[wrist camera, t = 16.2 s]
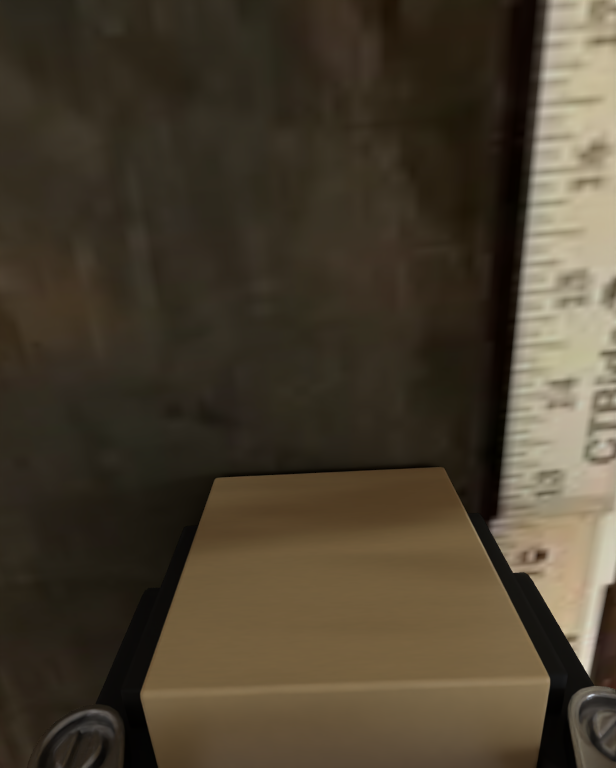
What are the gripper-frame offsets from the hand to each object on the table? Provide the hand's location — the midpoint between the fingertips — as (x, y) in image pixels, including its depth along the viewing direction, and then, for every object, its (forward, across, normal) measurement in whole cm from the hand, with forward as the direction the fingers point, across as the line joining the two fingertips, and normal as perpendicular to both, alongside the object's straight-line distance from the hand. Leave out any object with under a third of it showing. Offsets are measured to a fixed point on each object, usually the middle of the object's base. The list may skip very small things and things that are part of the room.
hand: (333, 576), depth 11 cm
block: (0, 0, 0) cm, 0 cm away
